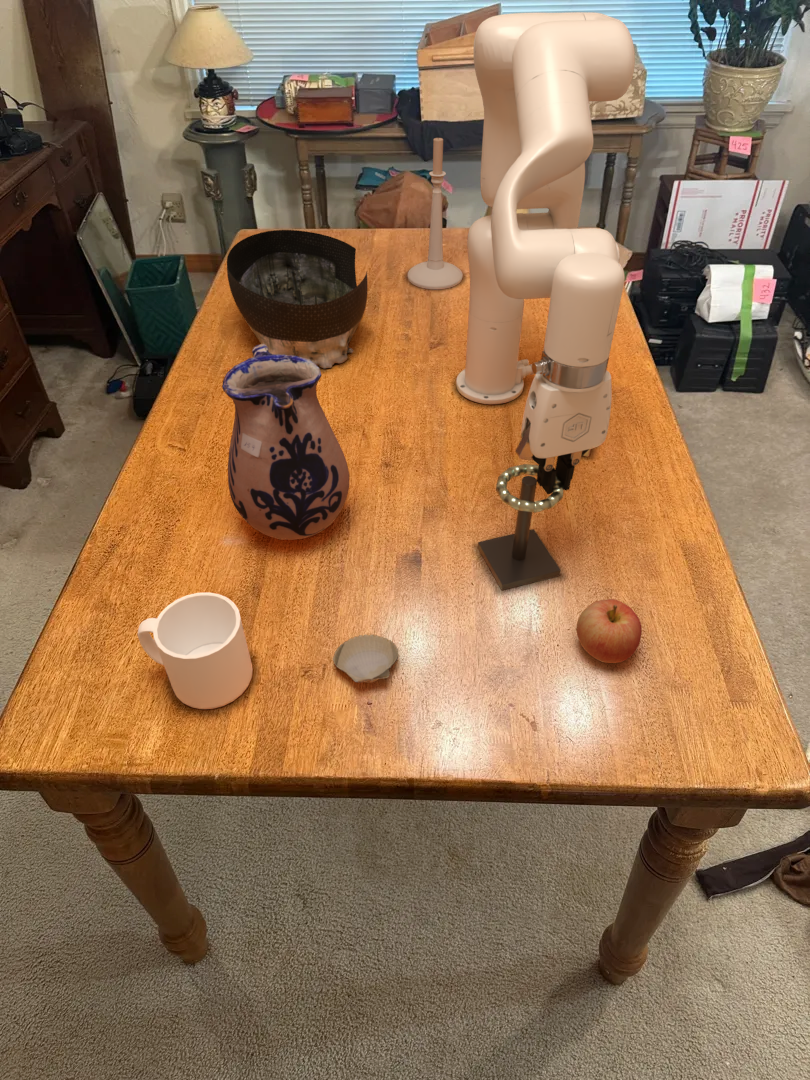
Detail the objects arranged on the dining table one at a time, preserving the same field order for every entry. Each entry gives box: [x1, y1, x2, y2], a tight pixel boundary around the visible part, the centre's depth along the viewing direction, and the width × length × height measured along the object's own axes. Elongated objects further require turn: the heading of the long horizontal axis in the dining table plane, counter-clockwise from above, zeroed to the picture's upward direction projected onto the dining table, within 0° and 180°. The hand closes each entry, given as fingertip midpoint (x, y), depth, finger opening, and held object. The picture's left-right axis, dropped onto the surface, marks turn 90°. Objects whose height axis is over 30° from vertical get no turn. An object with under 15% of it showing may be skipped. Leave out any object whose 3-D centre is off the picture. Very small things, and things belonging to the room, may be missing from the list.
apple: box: [576, 598, 642, 664], centre depth 96 cm, size 8×8×8 cm
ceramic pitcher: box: [221, 343, 350, 541], centre depth 109 cm, size 18×21×25 cm
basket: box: [226, 229, 369, 369], centre depth 152 cm, size 28×35×16 cm
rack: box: [477, 475, 562, 591], centre depth 105 cm, size 9×9×15 cm
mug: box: [136, 591, 254, 710], centre depth 92 cm, size 13×10×10 cm
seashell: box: [332, 634, 399, 684], centre depth 96 cm, size 8×3×8 cm
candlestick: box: [407, 137, 464, 290], centre depth 166 cm, size 13×13×30 cm
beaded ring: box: [495, 463, 565, 514], centre depth 100 cm, size 9×9×1 cm
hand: (553, 485), depth 101 cm, fingers closed on beaded ring, 1 cm apart
